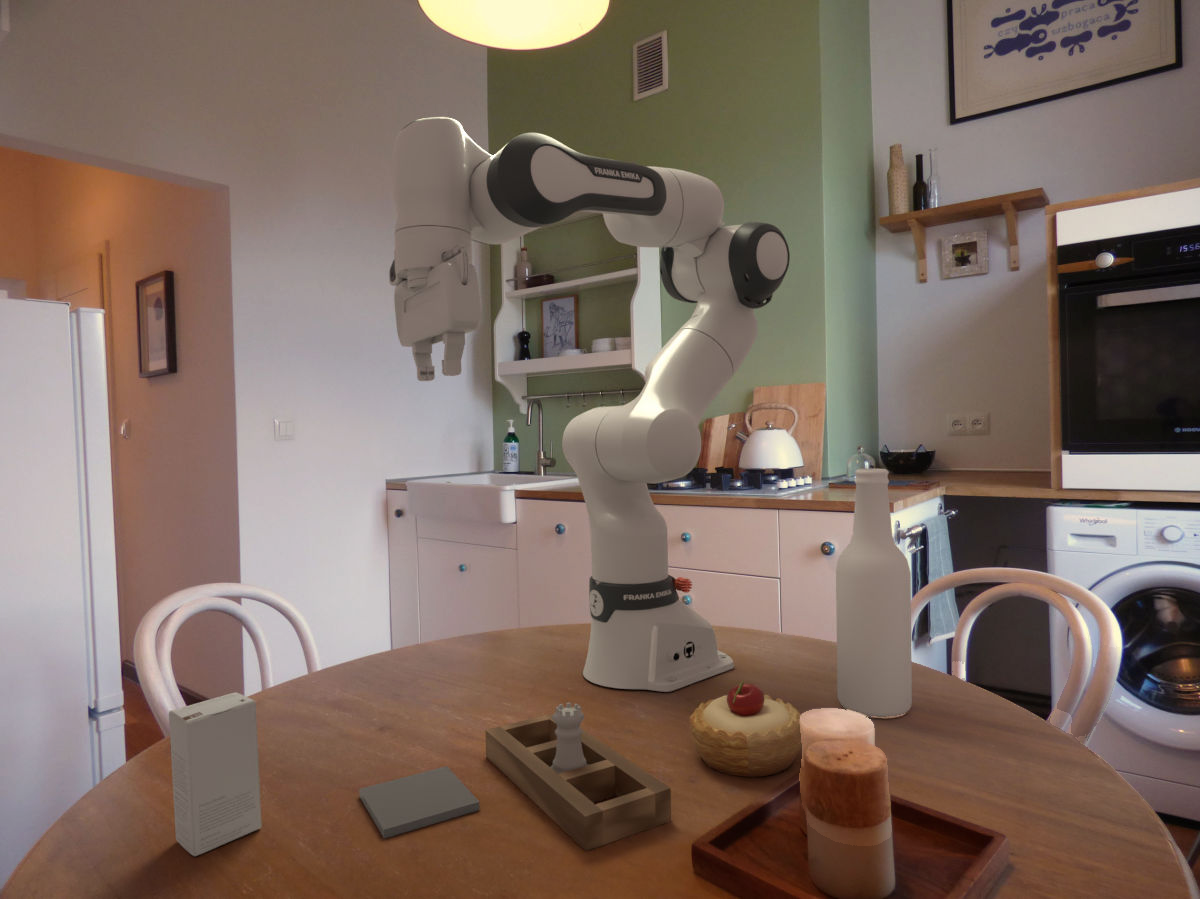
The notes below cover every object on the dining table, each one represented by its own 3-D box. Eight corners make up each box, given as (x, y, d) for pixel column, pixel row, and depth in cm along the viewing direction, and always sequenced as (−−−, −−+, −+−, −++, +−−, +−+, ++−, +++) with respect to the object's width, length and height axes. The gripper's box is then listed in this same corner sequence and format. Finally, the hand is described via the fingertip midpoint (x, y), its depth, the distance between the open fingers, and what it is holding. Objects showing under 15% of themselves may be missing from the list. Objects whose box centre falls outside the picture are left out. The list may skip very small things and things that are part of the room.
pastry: (807, 742, 85) (806, 664, 85) (799, 791, 74) (798, 701, 73) (702, 731, 89) (701, 656, 88) (679, 775, 78) (678, 690, 77)
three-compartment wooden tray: (558, 737, 87) (557, 712, 87) (671, 820, 69) (670, 788, 68) (486, 756, 83) (485, 729, 83) (585, 851, 64) (585, 816, 64)
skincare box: (241, 815, 71) (236, 688, 71) (264, 830, 68) (259, 699, 68) (171, 843, 67) (166, 708, 66) (192, 861, 64) (186, 720, 63)
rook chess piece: (586, 798, 73) (585, 717, 73) (542, 795, 74) (540, 714, 74) (596, 777, 77) (594, 700, 77) (554, 774, 78) (552, 698, 78)
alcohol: (927, 714, 92) (925, 469, 91) (869, 725, 89) (866, 472, 88) (878, 691, 100) (876, 466, 99) (823, 700, 97) (820, 469, 96)
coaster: (447, 773, 79) (446, 766, 79) (479, 810, 71) (479, 801, 71) (359, 796, 74) (359, 788, 74) (384, 838, 67) (383, 829, 67)
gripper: (493, 243, 81) (497, 372, 82) (433, 278, 99) (437, 383, 99) (436, 237, 78) (441, 371, 78) (385, 274, 96) (389, 383, 96)
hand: (438, 378), depth 89 cm, fingers open, 8 cm apart
